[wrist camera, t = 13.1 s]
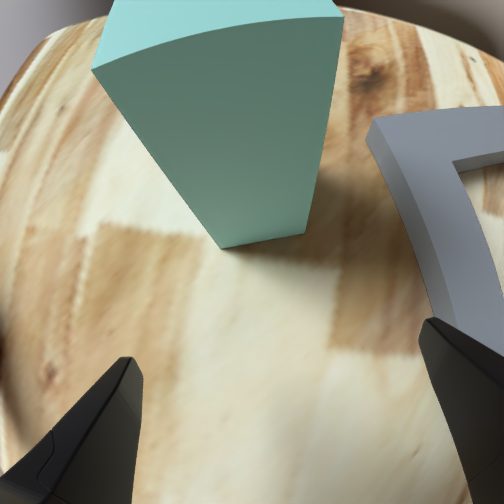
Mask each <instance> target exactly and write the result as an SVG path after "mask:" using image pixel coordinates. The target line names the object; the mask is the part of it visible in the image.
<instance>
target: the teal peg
mask: <svg viewBox="0 0 504 504" xmlns="http://www.w3.org/2000/svg"><path fill="white" fill-rule="evenodd" d="M343 23H344V15H343V14H342V13H341V12H340V10H339V9H338V8H337V6H336V5H335V4H334V3H333V2H332V0H115V1H114V3H113V6H112V8H111V11H110V13H109V16H108V19H107V21H106V24H105V27H104V30H103V32H102V35H101V38H100V41H99V44H98V47H97V51H96V54H95V57H94V60H93V64H92V67H91V71H92V72H93V74H94V75H95V77H96V78H97V79H98V81H99V82H100V84H101V85H102V87H103V88H104V90H105V91H106V92H107V94H108V95H109V97H110V98H111V100H112V101H113V102H114V104H115V105H116V107H117V108H118V110H119V111H120V112H121V114H122V115H123V117H124V118H125V119H126V121H127V122H128V124H129V125H130V126H131V128H132V129H133V131H134V132H135V134H136V135H137V136H138V138H139V139H140V140H141V142H142V143H143V145H144V146H145V147H146V149H147V150H148V152H149V153H150V154H151V156H152V157H153V159H154V160H155V161H156V163H157V164H158V165H159V167H160V168H161V170H162V171H163V172H164V174H165V175H166V176H167V178H168V179H169V181H170V182H171V183H172V185H173V186H174V187H175V189H176V190H177V191H178V193H179V194H180V196H181V197H182V198H183V200H184V201H185V202H186V204H187V205H188V206H189V208H190V209H191V210H192V212H193V213H194V214H195V216H196V217H197V218H198V220H199V221H200V222H201V224H202V225H203V226H204V228H205V229H206V230H207V232H208V233H209V234H210V236H211V237H212V238H213V240H214V241H215V242H216V244H217V245H218V246H219V248H220V249H223V248H229V247H234V246H239V245H244V244H250V243H255V242H260V241H266V240H271V239H276V238H282V237H287V236H292V235H298V234H303V233H305V230H306V225H307V221H308V216H309V212H310V207H311V203H312V198H313V194H314V189H315V184H316V179H317V174H318V170H319V165H320V160H321V155H322V149H323V144H324V139H325V134H326V128H327V123H328V118H329V112H330V106H331V101H332V95H333V89H334V83H335V77H336V71H337V64H338V58H339V51H340V45H341V38H342V31H343Z"/></svg>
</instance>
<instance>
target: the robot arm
mask: <svg viewBox="0 0 504 504" xmlns="http://www.w3.org/2000/svg"><path fill="white" fill-rule="evenodd" d="M419 346H420V349H421V352H422V355H423V358H424V361H425V365H426V368H427V371H428V374H429V377H430V380H431V383H432V386H433V388H434V391H435V393H436V396H437V398H438V401H439V403H440V406H441V408H442V411H443V413H444V416H445V418H446V421H447V424H448V426H449V429H450V432H451V434H452V437H453V440H454V443H455V446H456V449H457V452H458V455H459V458H460V461H461V464H462V467H463V470H464V473H465V477H466V480H467V483H468V487H469V491H470V495H471V498H472V502H473V504H504V356H502V355H500V354H499V353H497V352H495V351H494V350H492V349H490V348H489V347H487V346H485V345H484V344H482V343H480V342H479V341H477V340H475V339H474V338H472V337H470V336H469V335H467V334H465V333H463V332H462V331H460V330H458V329H457V328H455V327H453V326H451V325H450V324H448V323H446V322H445V321H443V320H441V319H439V318H437V317H432V318H428V319H426V320H425V321H424V322H423V326H422V329H421V332H420V335H419ZM142 397H143V375H142V372H141V370H140V368H139V367H138V365H137V363H136V361H135V359H134V358H133V357H120V358H119V359H118V360H117V361H116V362H115V363H114V364H113V365H112V366H111V367H110V368H109V369H108V370H107V371H106V372H105V373H104V374H103V375H102V376H101V377H100V378H99V379H98V381H97V382H96V383H95V384H94V385H93V386H92V387H91V388H90V389H89V390H88V391H87V392H86V393H85V394H84V395H83V396H82V397H81V398H80V399H79V400H78V401H77V403H76V404H75V405H74V406H73V407H72V408H71V409H70V410H69V411H68V412H67V413H66V414H65V415H64V416H63V417H62V418H61V419H60V421H59V422H58V423H57V424H56V425H55V426H54V427H53V428H52V430H50V431H49V432H48V433H47V434H46V435H45V437H44V438H43V439H42V440H41V441H40V442H39V443H38V444H37V445H36V446H35V447H34V448H33V449H32V450H30V451H29V452H28V453H27V454H26V455H25V456H24V457H23V458H22V459H21V460H19V461H18V462H17V463H16V464H15V465H14V466H13V467H11V468H10V469H9V470H8V471H7V472H6V473H5V474H3V475H2V476H1V477H0V504H131V503H132V492H133V483H134V474H135V465H136V457H137V450H138V443H139V436H140V429H141V419H142Z"/></svg>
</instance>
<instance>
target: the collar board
mask: <svg viewBox="0 0 504 504" xmlns="http://www.w3.org/2000/svg"><path fill="white" fill-rule="evenodd" d="M365 140H366V142H367V144H368V146H369V148H370V150H371V152H372V154H373V156H374V158H375V160H376V162H377V164H378V166H379V168H380V170H381V173H382V175H383V177H384V179H385V181H386V183H387V186H388V188H389V190H390V192H391V195H392V197H393V199H394V202H395V204H396V206H397V209H398V211H399V214H400V216H401V219H402V221H403V224H404V226H405V229H406V231H407V234H408V237H409V239H410V242H411V245H412V247H413V250H414V253H415V256H416V259H417V262H418V265H419V268H420V271H421V274H422V277H423V280H424V283H425V286H426V289H427V293H428V296H429V300H430V303H431V307H432V310H433V314H434V317H437V318H439V319H441V320H443V321H445V322H446V323H448V324H450V325H451V326H453V327H455V328H457V329H458V330H460V331H462V332H463V333H465V334H467V335H469V336H470V337H472V338H474V339H475V340H477V341H479V342H480V343H482V344H484V345H485V346H487V347H489V348H490V349H492V350H494V351H495V352H497V353H499V354H500V355H502V356H504V298H503V294H502V290H501V286H500V283H499V279H498V276H497V272H496V269H495V266H494V262H493V259H492V256H491V253H490V250H489V247H488V244H487V241H486V239H485V236H484V233H483V231H482V228H481V225H480V223H479V220H478V218H477V215H476V213H475V210H474V208H473V206H472V203H471V201H470V199H469V197H468V194H467V192H466V190H465V188H464V186H463V183H462V181H461V179H460V177H459V175H458V173H461V172H465V171H469V170H474V169H478V168H482V167H486V166H491V165H495V164H499V163H504V106H481V107H464V108H450V109H439V110H429V111H420V112H412V113H404V114H396V115H389V116H383V117H376V118H373V121H372V123H371V126H370V129H369V131H368V134H367V137H366V139H365Z"/></svg>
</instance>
